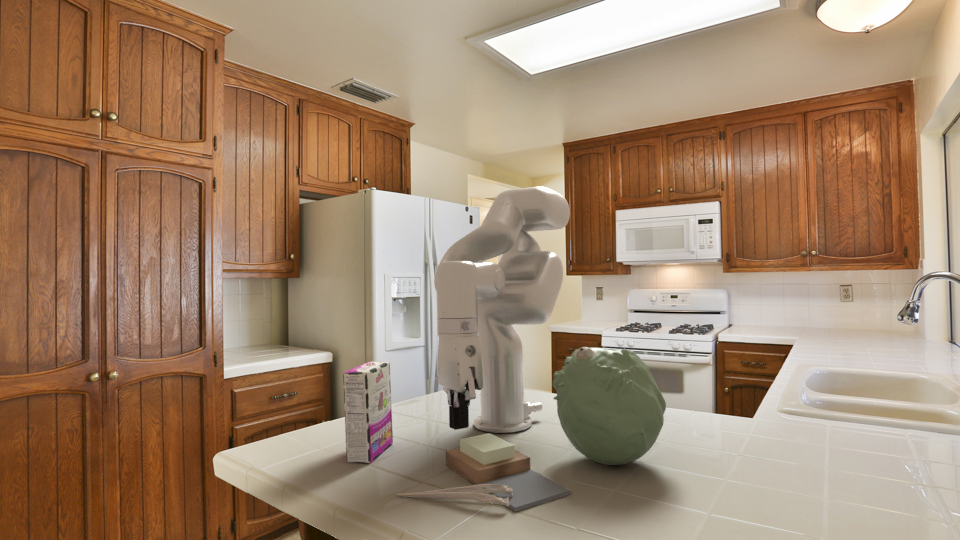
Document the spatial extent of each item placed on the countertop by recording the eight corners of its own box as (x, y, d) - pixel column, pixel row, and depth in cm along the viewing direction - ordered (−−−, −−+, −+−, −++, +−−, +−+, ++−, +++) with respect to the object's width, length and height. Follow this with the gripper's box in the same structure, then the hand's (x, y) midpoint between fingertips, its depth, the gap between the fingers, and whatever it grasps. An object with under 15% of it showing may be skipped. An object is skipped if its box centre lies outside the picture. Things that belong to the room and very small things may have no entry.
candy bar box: (370, 442, 100) (368, 361, 101) (393, 443, 99) (391, 361, 100) (344, 463, 89) (341, 371, 90) (370, 464, 88) (367, 371, 89)
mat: (531, 473, 82) (531, 469, 82) (570, 494, 74) (570, 490, 74) (479, 487, 77) (479, 483, 77) (515, 511, 69) (514, 507, 69)
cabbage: (673, 484, 76) (668, 353, 77) (549, 475, 81) (545, 352, 81) (663, 449, 91) (659, 340, 92) (559, 444, 96) (556, 340, 97)
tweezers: (514, 493, 73) (512, 479, 73) (508, 509, 68) (506, 495, 68) (404, 496, 77) (402, 483, 77) (391, 512, 73) (389, 498, 73)
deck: (494, 453, 92) (494, 439, 92) (530, 472, 82) (530, 457, 83) (446, 465, 87) (445, 450, 87) (478, 487, 77) (477, 470, 77)
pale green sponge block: (489, 444, 90) (489, 433, 90) (514, 457, 83) (514, 445, 83) (460, 450, 87) (459, 439, 87) (483, 465, 80) (483, 452, 80)
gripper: (496, 328, 88) (498, 434, 87) (456, 324, 101) (457, 416, 100) (458, 331, 84) (460, 441, 83) (422, 326, 97) (423, 422, 96)
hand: (459, 427), depth 92 cm, fingers closed
